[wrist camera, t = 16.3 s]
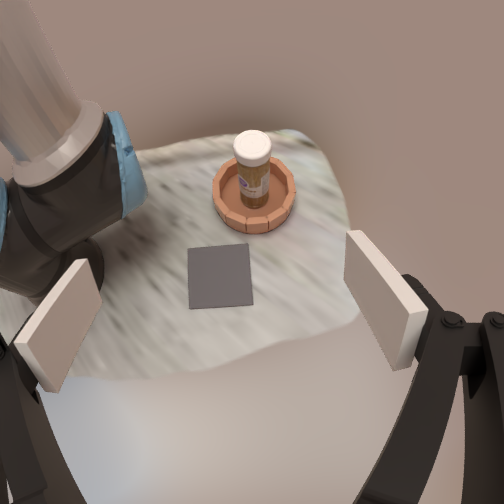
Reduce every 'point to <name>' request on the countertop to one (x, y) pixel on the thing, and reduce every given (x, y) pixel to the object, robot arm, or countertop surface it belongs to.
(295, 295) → the countertop surface
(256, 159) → the sprinkles bottle
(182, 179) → the countertop surface
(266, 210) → the terracotta bowl
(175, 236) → the countertop surface
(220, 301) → the rubber mat
